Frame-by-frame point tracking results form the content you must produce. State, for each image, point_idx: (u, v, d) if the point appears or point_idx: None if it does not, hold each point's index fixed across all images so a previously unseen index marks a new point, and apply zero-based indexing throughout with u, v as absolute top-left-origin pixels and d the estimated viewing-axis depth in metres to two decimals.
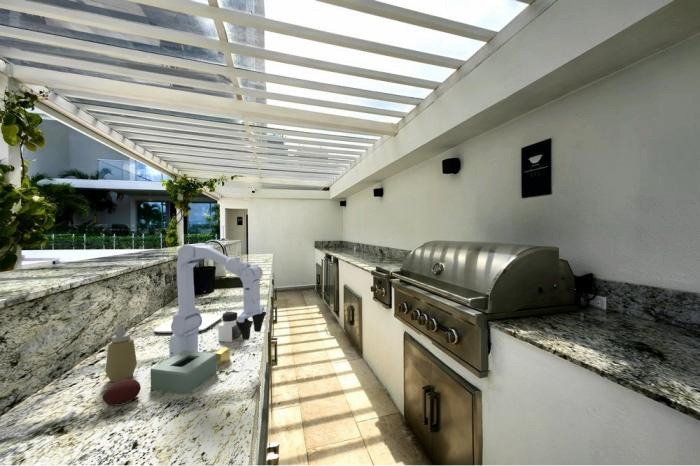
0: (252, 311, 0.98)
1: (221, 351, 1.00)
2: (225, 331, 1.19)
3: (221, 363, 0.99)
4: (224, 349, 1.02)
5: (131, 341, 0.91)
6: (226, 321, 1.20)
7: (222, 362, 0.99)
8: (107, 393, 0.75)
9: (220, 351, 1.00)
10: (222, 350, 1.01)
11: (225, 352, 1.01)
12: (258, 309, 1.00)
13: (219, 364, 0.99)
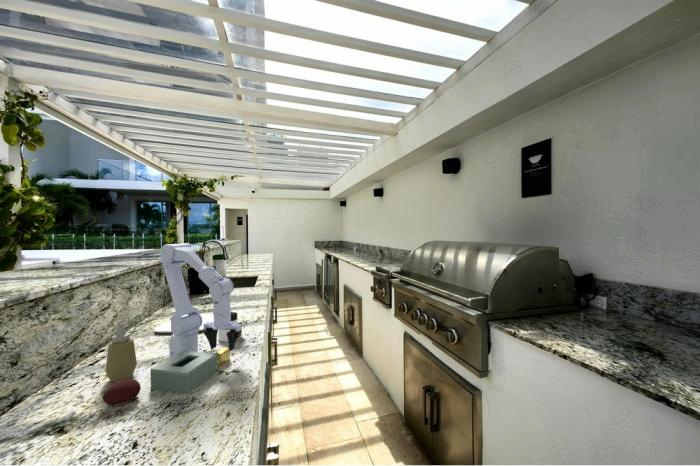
0: (213, 324, 1.00)
1: (221, 351, 1.00)
2: (225, 331, 1.19)
3: (221, 363, 0.99)
4: (224, 349, 1.02)
5: (131, 341, 0.91)
6: None
7: (222, 362, 0.99)
8: (106, 393, 0.75)
9: (220, 351, 1.00)
10: (222, 350, 1.01)
11: (225, 352, 1.01)
12: (216, 325, 0.98)
13: (219, 364, 0.99)
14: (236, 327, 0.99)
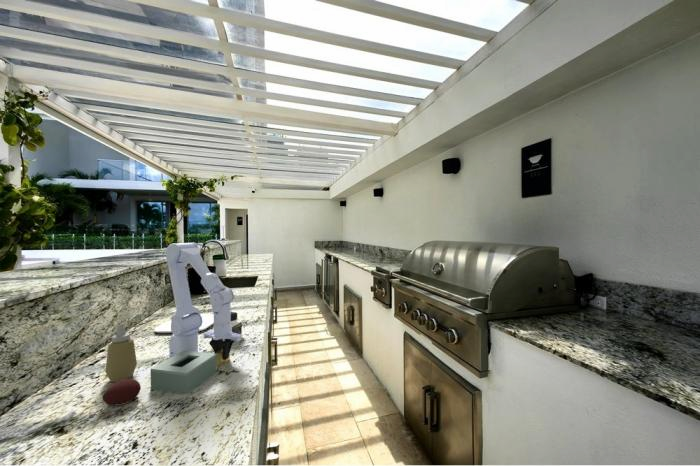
0: (213, 333, 1.00)
1: (221, 351, 1.00)
2: None
3: (221, 363, 0.99)
4: None
5: (131, 341, 0.91)
6: None
7: (222, 362, 0.99)
8: (106, 393, 0.75)
9: (220, 351, 1.00)
10: (222, 350, 1.01)
11: None
12: (216, 335, 0.98)
13: (219, 364, 0.99)
14: (236, 337, 0.99)
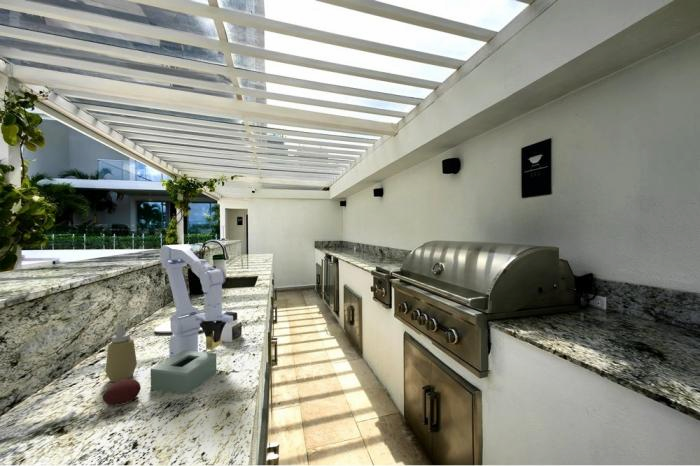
0: (204, 315, 0.97)
1: (212, 335, 0.97)
2: (225, 331, 1.19)
3: (212, 347, 0.96)
4: None
5: (131, 341, 0.91)
6: None
7: (213, 346, 0.96)
8: (106, 393, 0.75)
9: (211, 335, 0.97)
10: (213, 334, 0.98)
11: None
12: (207, 316, 0.95)
13: (210, 348, 0.96)
14: (228, 318, 0.96)
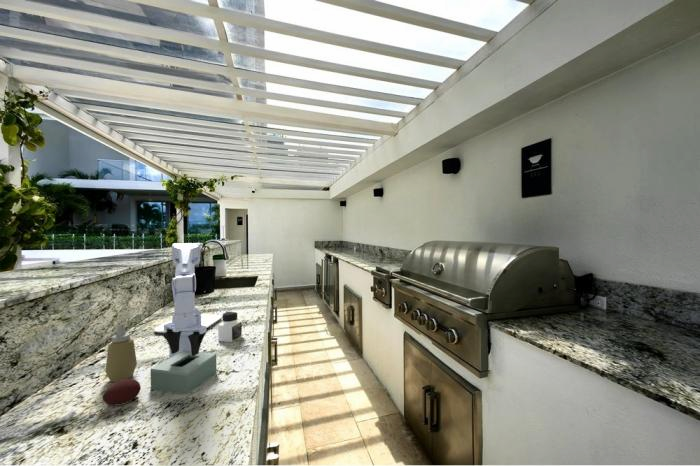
0: None
1: None
2: (225, 331, 1.19)
3: None
4: None
5: (131, 341, 0.91)
6: (226, 321, 1.20)
7: None
8: (106, 393, 0.75)
9: None
10: None
11: None
12: (177, 326, 0.86)
13: None
14: (200, 329, 0.87)
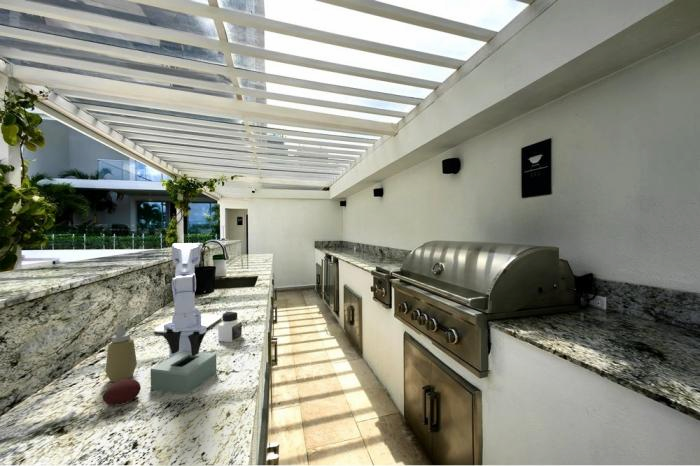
0: None
1: None
2: (225, 331, 1.19)
3: None
4: None
5: (131, 341, 0.91)
6: (226, 321, 1.20)
7: None
8: (107, 393, 0.75)
9: None
10: None
11: None
12: (177, 326, 0.86)
13: None
14: (200, 329, 0.87)
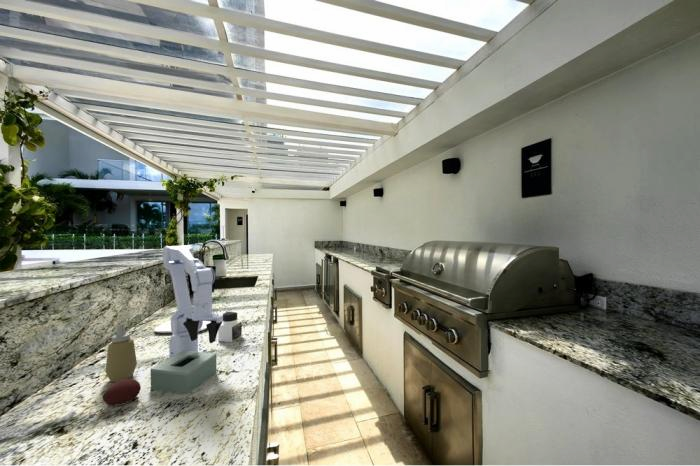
0: (193, 314, 0.95)
1: None
2: (225, 331, 1.19)
3: None
4: None
5: (131, 341, 0.91)
6: (226, 321, 1.20)
7: None
8: (107, 393, 0.75)
9: None
10: None
11: None
12: (196, 315, 0.94)
13: None
14: (217, 318, 0.94)
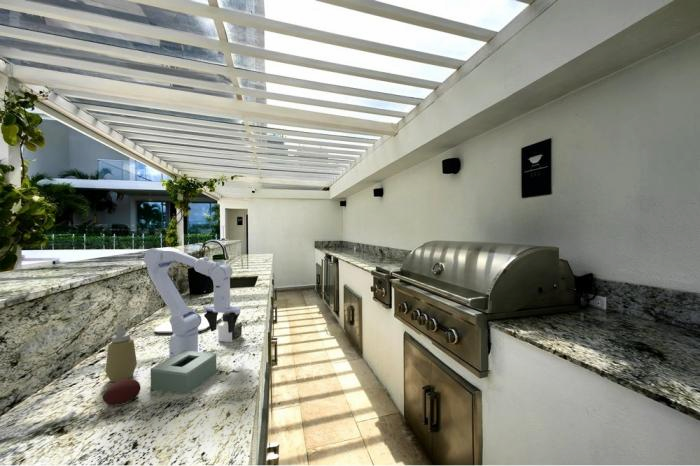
0: (213, 307, 1.04)
1: None
2: (225, 331, 1.19)
3: None
4: None
5: (131, 341, 0.91)
6: (226, 321, 1.20)
7: None
8: (106, 393, 0.75)
9: None
10: None
11: None
12: (216, 307, 1.03)
13: None
14: (235, 310, 1.03)
